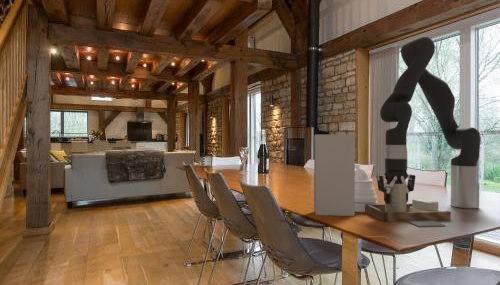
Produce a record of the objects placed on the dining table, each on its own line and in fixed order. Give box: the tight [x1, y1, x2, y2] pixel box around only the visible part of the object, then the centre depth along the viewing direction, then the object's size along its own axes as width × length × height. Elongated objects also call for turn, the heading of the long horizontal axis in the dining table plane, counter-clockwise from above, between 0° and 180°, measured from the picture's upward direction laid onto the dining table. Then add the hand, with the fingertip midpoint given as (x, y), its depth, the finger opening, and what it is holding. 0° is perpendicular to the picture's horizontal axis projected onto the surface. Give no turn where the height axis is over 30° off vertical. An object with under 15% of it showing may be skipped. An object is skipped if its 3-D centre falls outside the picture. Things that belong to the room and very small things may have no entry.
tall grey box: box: [313, 134, 356, 217], centre depth 123 cm, size 14×6×30 cm, turn 84°
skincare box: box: [384, 182, 407, 212], centre depth 120 cm, size 6×4×12 cm
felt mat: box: [405, 220, 446, 228], centre depth 108 cm, size 9×7×1 cm
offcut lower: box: [410, 207, 441, 212], centre depth 120 cm, size 7×9×3 cm
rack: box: [364, 203, 452, 223], centre depth 120 cm, size 24×15×3 cm, turn 95°
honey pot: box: [355, 163, 378, 213], centre depth 133 cm, size 13×13×18 cm
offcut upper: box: [411, 198, 439, 211], centre depth 121 cm, size 5×7×3 cm
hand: (396, 203), depth 119 cm, fingers open, 6 cm apart
